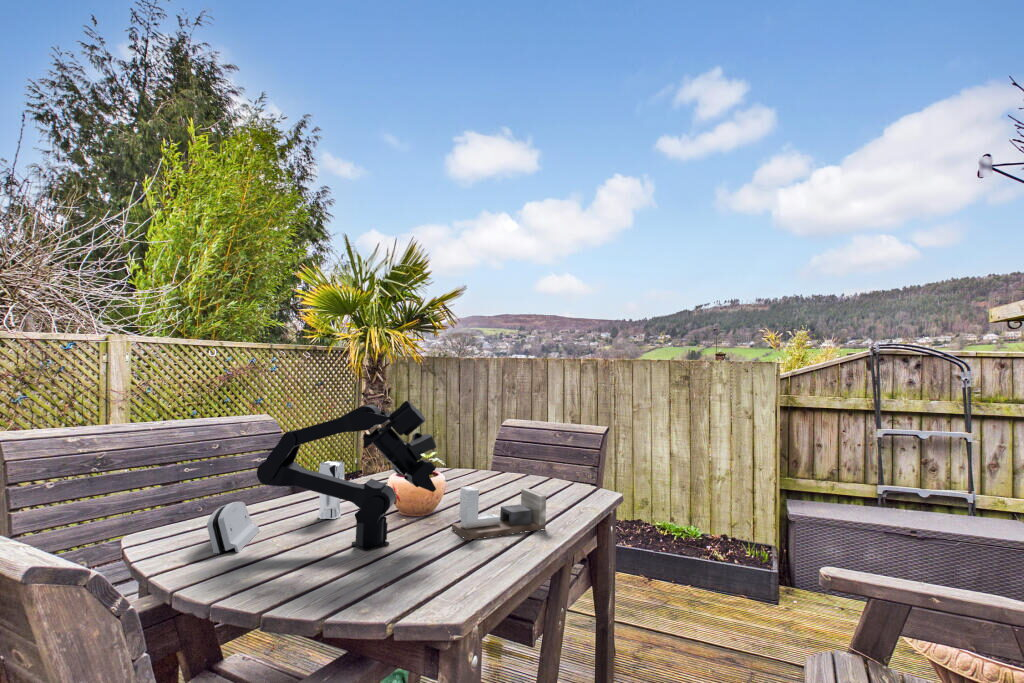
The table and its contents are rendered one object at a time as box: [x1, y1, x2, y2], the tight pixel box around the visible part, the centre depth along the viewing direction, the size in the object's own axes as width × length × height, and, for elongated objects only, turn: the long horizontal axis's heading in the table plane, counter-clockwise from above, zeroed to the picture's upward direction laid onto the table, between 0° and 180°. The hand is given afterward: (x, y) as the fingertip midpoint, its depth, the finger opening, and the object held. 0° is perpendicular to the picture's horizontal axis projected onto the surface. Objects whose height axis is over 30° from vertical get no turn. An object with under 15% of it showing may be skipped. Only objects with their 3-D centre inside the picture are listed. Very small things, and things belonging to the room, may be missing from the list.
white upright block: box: [317, 460, 345, 520], centre depth 143 cm, size 7×7×15 cm
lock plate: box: [451, 487, 547, 541], centre depth 136 cm, size 23×10×9 cm, turn 119°
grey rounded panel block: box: [206, 501, 261, 554], centre depth 120 cm, size 17×5×10 cm, turn 11°
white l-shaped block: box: [459, 485, 500, 529], centre depth 133 cm, size 10×5×10 cm, turn 119°
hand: (434, 490), depth 127 cm, fingers closed
